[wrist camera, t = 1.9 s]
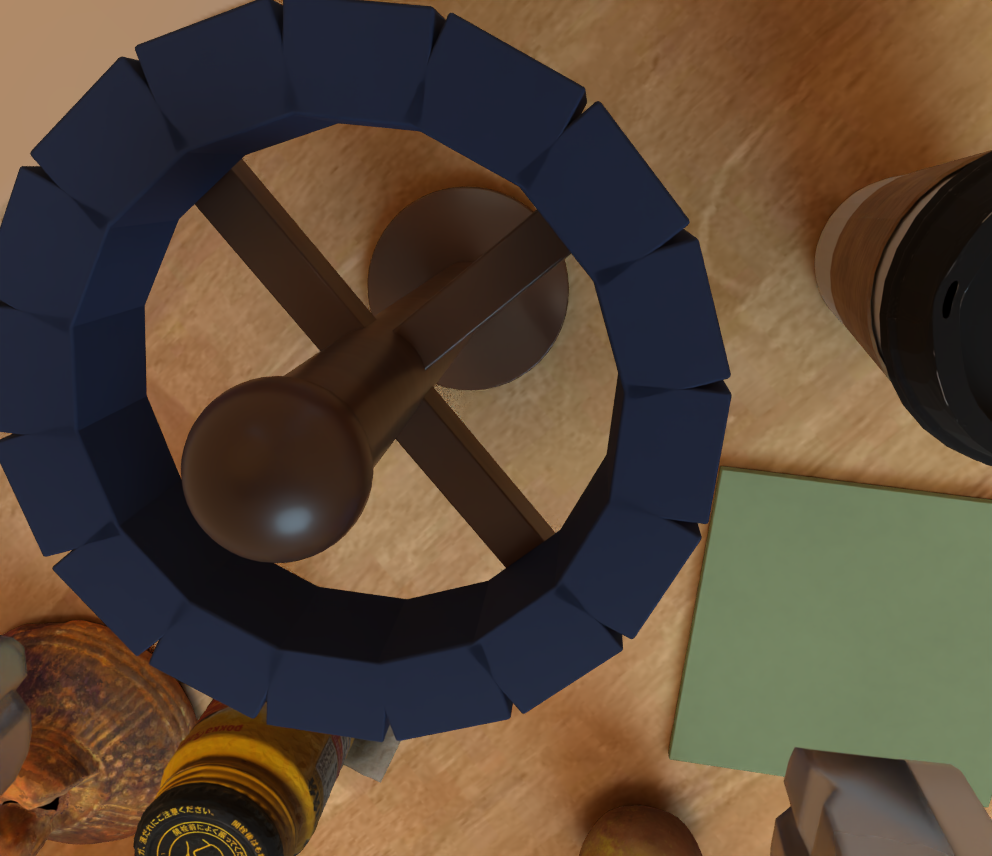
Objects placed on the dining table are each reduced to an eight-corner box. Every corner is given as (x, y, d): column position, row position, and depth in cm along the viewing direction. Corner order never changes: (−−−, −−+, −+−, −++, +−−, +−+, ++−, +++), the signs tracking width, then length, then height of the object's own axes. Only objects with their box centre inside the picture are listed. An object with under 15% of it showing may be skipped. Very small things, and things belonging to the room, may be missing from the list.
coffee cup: (808, 125, 32) (978, 89, 18) (1045, 157, 31) (1419, 147, 17) (757, 349, 35) (870, 476, 20) (976, 382, 34) (1253, 537, 20)
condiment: (270, 582, 40) (139, 748, 28) (440, 659, 40) (377, 854, 29) (221, 705, 42) (81, 906, 31) (382, 778, 42) (302, 1004, 31)
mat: (720, 465, 36) (721, 469, 36) (1074, 510, 35) (1081, 514, 34) (668, 752, 40) (668, 759, 40) (983, 800, 39) (988, 808, 39)
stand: (335, 126, 34) (-173, 43, 11) (631, 155, 33) (705, 127, 11) (324, 409, 37) (-87, 771, 15) (592, 442, 36) (586, 882, 14)
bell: (65, 566, 41) (-44, 647, 34) (254, 735, 42) (187, 847, 35) (-68, 708, 44) (-193, 809, 37) (113, 860, 46) (26, 985, 39)
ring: (49, -5, 19) (-50, -37, 16) (764, 59, 17) (797, 37, 15) (79, 621, 23) (6, 685, 20) (652, 705, 22) (661, 786, 19)
